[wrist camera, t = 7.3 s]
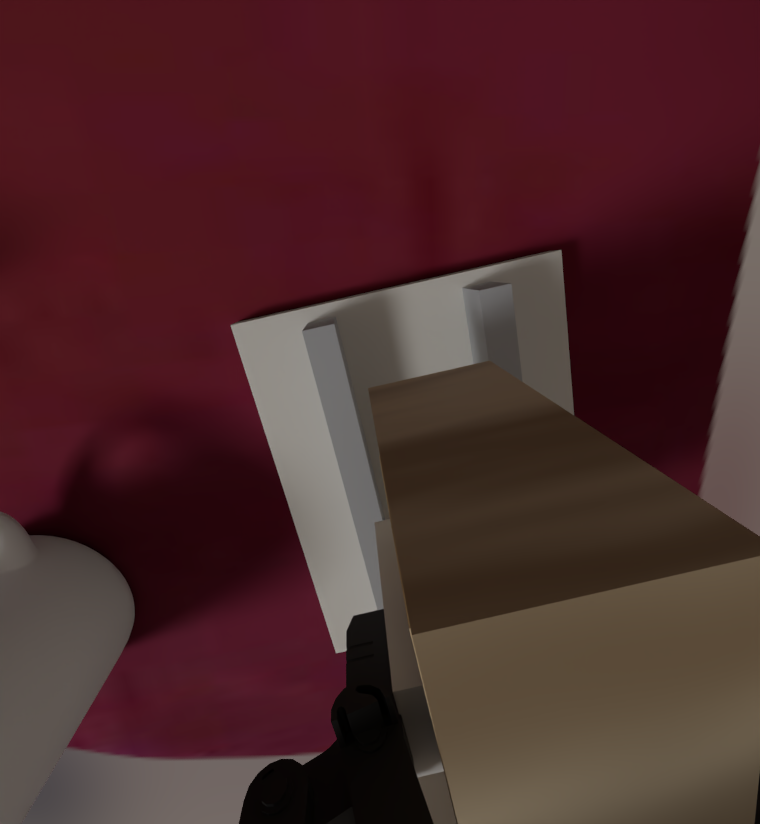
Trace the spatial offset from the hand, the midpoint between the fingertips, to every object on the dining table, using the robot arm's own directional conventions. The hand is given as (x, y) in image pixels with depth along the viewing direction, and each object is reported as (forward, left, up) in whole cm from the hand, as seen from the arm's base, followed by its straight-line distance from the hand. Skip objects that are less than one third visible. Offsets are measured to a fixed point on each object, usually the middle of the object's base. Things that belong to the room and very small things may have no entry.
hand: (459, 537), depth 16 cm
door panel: (0, 0, 0) cm, 0 cm away
